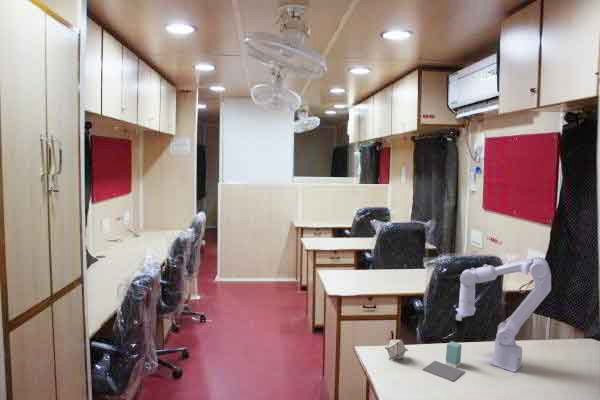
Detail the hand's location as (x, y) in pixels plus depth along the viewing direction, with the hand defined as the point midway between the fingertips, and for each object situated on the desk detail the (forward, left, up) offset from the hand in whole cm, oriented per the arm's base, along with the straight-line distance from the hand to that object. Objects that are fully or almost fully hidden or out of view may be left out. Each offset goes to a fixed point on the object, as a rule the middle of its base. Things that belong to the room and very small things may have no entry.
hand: (464, 333), depth 181 cm
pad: (0, +18, -9) cm, 20 cm away
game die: (+18, +22, -10) cm, 30 cm away
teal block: (0, +10, -10) cm, 14 cm away
